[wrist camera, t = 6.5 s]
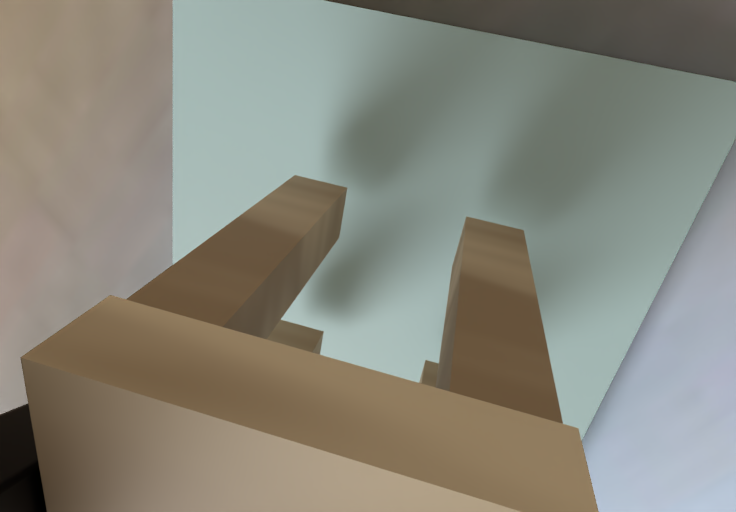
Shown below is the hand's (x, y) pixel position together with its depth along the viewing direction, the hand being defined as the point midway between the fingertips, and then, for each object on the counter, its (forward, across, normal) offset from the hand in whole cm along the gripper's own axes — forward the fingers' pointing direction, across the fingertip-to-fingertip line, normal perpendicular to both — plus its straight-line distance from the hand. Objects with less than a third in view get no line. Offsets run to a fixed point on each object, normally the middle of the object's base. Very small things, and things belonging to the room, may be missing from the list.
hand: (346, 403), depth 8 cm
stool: (+4, 0, 0) cm, 4 cm away
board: (+5, 0, 0) cm, 5 cm away
